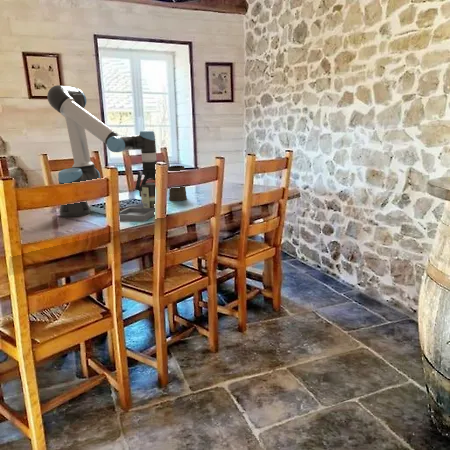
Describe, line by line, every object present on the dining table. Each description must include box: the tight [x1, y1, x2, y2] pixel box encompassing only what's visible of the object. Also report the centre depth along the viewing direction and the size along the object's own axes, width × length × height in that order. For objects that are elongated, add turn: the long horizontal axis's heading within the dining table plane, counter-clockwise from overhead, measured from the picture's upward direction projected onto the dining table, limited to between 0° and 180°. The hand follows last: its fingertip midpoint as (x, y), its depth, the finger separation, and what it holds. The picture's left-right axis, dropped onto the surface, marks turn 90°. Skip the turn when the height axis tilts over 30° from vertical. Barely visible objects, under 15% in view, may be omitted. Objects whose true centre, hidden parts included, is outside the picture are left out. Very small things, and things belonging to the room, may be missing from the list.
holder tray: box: [119, 207, 155, 222], centre depth 195 cm, size 16×16×3 cm
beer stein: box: [167, 165, 188, 202], centre depth 236 cm, size 15×11×20 cm
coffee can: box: [140, 181, 155, 208], centre depth 209 cm, size 10×10×14 cm
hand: (152, 202), depth 209 cm, fingers closed on coffee can, 10 cm apart
